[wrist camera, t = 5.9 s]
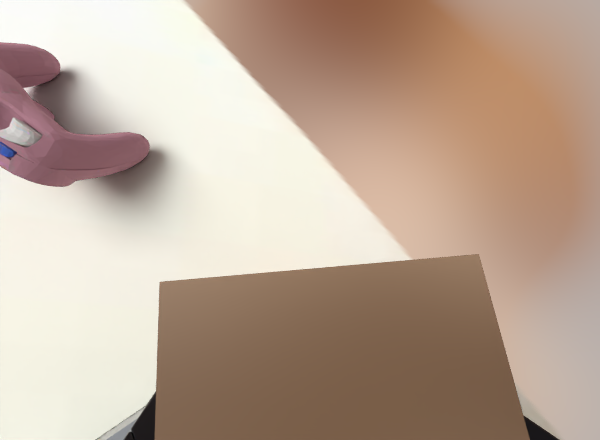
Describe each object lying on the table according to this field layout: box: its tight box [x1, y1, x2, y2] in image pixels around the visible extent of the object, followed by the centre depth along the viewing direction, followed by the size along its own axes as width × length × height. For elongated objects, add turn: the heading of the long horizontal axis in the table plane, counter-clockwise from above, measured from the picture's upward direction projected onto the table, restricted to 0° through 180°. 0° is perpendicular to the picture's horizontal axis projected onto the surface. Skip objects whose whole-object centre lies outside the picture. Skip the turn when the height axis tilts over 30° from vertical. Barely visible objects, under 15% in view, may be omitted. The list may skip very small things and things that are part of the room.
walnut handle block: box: [155, 254, 530, 440], centre depth 9 cm, size 4×4×12 cm
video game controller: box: [0, 42, 149, 187], centre depth 16 cm, size 10×5×7 cm, turn 49°
